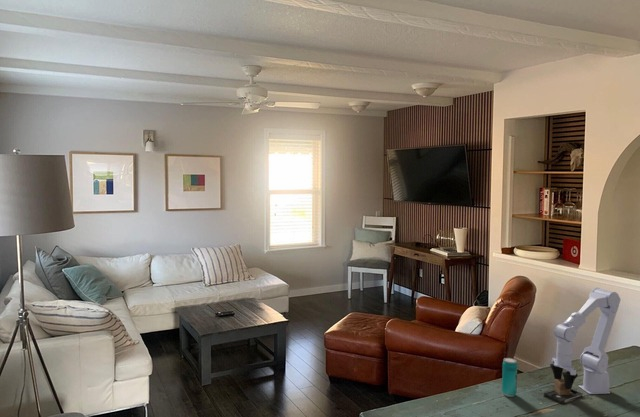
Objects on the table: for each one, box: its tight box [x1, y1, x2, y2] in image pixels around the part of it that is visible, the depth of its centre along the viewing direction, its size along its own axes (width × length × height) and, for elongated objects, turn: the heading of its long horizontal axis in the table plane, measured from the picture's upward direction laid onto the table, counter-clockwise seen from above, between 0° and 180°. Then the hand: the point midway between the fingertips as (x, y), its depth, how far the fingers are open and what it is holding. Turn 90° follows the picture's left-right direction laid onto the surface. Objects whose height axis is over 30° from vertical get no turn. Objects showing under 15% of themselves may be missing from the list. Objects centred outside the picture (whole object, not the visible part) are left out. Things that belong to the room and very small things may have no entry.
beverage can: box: [501, 357, 518, 398], centre depth 210 cm, size 6×6×15 cm
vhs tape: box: [543, 388, 583, 405], centre depth 208 cm, size 14×8×2 cm, turn 119°
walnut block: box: [553, 378, 572, 395], centre depth 209 cm, size 4×4×5 cm
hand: (562, 385), depth 209 cm, fingers open, 7 cm apart
